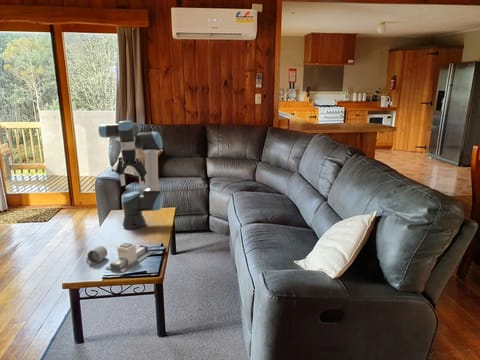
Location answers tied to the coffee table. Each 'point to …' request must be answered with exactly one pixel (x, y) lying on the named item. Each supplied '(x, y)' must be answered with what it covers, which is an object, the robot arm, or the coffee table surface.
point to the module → (127, 252)
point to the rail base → (123, 263)
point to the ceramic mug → (97, 254)
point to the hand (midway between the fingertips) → (132, 186)
